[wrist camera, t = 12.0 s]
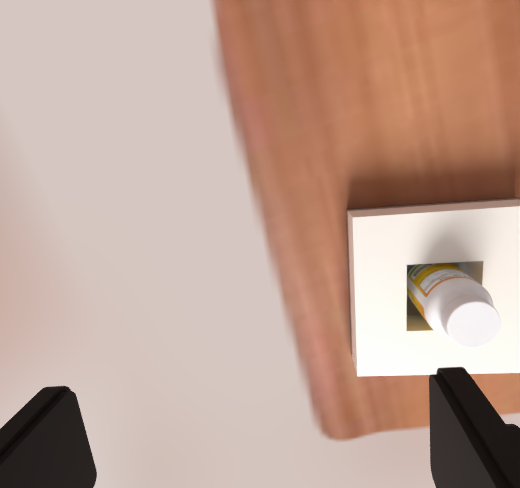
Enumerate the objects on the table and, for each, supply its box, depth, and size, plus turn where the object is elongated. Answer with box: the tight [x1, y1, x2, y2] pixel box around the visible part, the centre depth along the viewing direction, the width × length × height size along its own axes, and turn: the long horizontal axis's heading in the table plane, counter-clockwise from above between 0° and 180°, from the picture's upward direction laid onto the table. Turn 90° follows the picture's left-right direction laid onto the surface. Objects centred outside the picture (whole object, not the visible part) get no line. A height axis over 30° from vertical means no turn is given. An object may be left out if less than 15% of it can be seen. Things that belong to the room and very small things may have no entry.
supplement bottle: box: [407, 263, 501, 348], centre depth 34 cm, size 5×5×10 cm
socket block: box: [346, 198, 520, 376], centre depth 38 cm, size 16×16×4 cm
